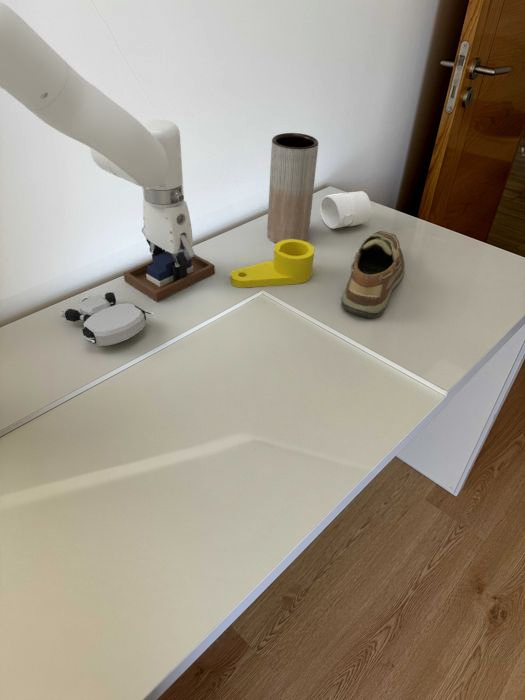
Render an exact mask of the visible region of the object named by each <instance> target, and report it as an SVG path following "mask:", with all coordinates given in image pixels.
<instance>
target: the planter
mask: <svg viewBox="0 0 525 700" xmlns="http://www.w3.org/2000/svg"><path fill="white" fill-rule="evenodd" d="M270 149H271V150H270V169H269V170H270V171H269V187H268V188H269V189H268V190H269V191H268V209H267V226H266V227H267V229H266V231H267V232H266V233H267V234H266V236H267V238H268V239H269V240H270V241H271V242H272V243H274V244H277V243H278V242H280V241H283V240H288V239H296V240H302V241H305V242H308V239H309V234H310V226H311V217H312V209H313V208H312V207H313V199H314V187H315V180H316V172H317V171H316V170H317V160H318V152H319V140H318V139H317V138H316V137H314V136H312V135H309V134H306V133H300V132H299V133H298V132H284V133H279V134H277V135H275V136H273V137H272V139H271V147H270Z"/></svg>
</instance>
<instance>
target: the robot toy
mask: <svg viewBox="0 0 525 700" xmlns="http://www.w3.org/2000/svg"><path fill="white" fill-rule="evenodd" d="M78 303H79V305H78V308H79V310H78V309H73V308H68V309H62V310H61V311H60V312H59V313H58V316H59V317H61V318H65V320H66V321H69V322H72V323H73V322H74V323H75V322H78V321H83V322H84V323H83V328H82V329H81V330H82V335H83V336H82V339H83V340H84V341H87V342H89V343H91V344H92V345H95V344H96V345H97V346H98V347H100V346H101V347H102V346H103V347H105V346H106V347H108V346H113V345H116V344H119V343H121V342H124V341H126V340H129V339H130V338H132V337H134V336H136V335H137V334H139V332H141V331H142V330H143V329H144V328H145V326H146V320H147V314H148V315H151V316H154V315H155V313H154V312H153V311H152V312H151V311H148V310H145V309H144V308H141V307H139V306H138V305H135V304H134V305H133V304H132V303H119V304H117V297H116V295H115V292H113V291H111V290H110V291H106V292H104V296H102V295H89V296H88V297H85V298H84V299H82V298H81V299H80V300H79V301H78Z"/></svg>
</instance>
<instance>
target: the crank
mask: <svg viewBox="0 0 525 700" xmlns="http://www.w3.org/2000/svg"><path fill="white" fill-rule="evenodd" d="M314 256H315V248H314V246H313V244H311V243H310V242H308V241H302V240H296V239H288V240H283V241H280V242H278V243H275V245H274V248H273V260H269V261H264V262H261V263H260V262H259V263H257V264H253V265H248V266H244V267H240V268H237V269H233V270H232V271H231V272H230V283H231V285H232V286H233V287H236V288H240V289H243V288H244V289H245V288H260V287H273V286H274V287H275V286H289V285H300V284H304V283H306V282H308V281H309V280H310V279H311V278H312V276H313V275H312V273H313V266H314Z"/></svg>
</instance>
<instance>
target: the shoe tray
mask: <svg viewBox="0 0 525 700" xmlns="http://www.w3.org/2000/svg"><path fill="white" fill-rule="evenodd" d="M191 262H192V266H193V272H191V273H189V274H187V276H186V277H184V278H182V279H180V280H178V281H176V282H174V281H172V282H170V283H168V284H166V285H164V286H162V287H159V286H158V285H156V284H154V283H153V282H151V281H149V280H148V279H147V276H146V274H147V268H146V267H147V266H149V265H151V264H153V261H152V260H150V261H147V262H145V263H143V264H140V265H138V266H136V267H134V268H131V269H129V270H127V271H124V272H123V279H124V282H125V283H127V284H128V285H129V286H131V287H133V288H134V289H136V290H137V291H139V292H140V293H142V294H144V295H145V296H147V297H148V298H150V299H151V300H153V301H154V302H156V303H159V302H161V301H163V300H165V299H166V298H169V297H171V296H172V295H176V294H177V293H179V292H181V291H183V290H185V289H186V288H188V287H192V285H196V283H198V282H201V281H203V280H205V279H206V278H209V277H210V276H212V275H215V274H216V272H215V271H216V270H215V267H216V266H215V264H213V263H211V262H210V261H208V260H206V259H205V258H203V257H200V256H198V255H197V254H195V257H193V258H192V259H191Z"/></svg>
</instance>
